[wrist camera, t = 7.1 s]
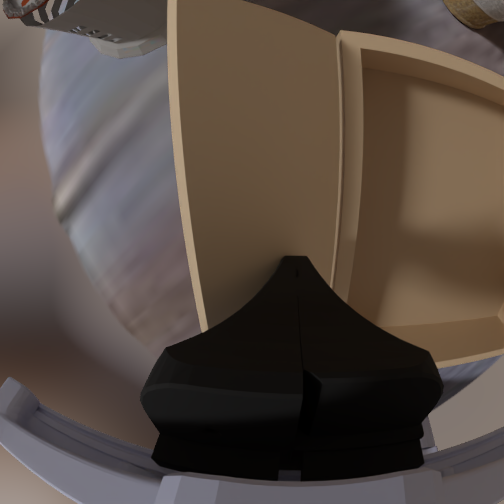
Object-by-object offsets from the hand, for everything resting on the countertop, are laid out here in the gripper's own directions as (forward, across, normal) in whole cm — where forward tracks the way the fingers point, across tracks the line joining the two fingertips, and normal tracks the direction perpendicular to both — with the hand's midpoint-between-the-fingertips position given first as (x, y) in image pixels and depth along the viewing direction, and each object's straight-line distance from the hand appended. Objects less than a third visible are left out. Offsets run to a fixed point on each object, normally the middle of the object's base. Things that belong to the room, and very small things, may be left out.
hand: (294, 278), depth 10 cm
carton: (+8, -12, 0) cm, 15 cm away
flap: (0, 0, 0) cm, 0 cm away
